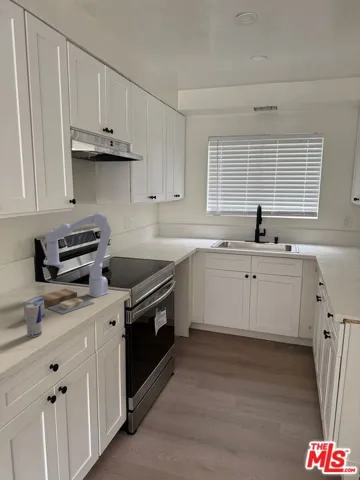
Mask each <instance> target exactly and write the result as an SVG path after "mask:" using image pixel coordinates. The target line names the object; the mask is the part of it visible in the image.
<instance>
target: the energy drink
mask: <svg viewBox="0 0 360 480" xmlns="http://www.w3.org/2000/svg"><path fill="white" fill-rule="evenodd" d="M25 322H26V335H27V336H28V337H29V338H37V337H39V336H41V335H42V334H43V325H42V317H41V306H40V304H38V303H32V304H28V305H27V306H26V321H25Z"/></svg>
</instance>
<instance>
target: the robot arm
mask: <svg viewBox="0 0 360 480" xmlns="http://www.w3.org/2000/svg"><path fill="white" fill-rule="evenodd" d="M86 225H95V226H96V227H98V229H99V230H100V232H101V235H100V238H99V241H98V246H97V250H96V253H95V257H94V260H93V264H92V265H91V266H90V268H89V277H88V281H89V283H88V284H89V285H88V286H89V292H87V293H85V294H86V295H87V296H90V297H93V298H98V297H101V296H103V295H104V296H105V295H107V294H109V293H110V292H109V285H108V279H107V278H106V277H105V276H103V273H102V271H103V264H104V260H105V256H106V252H107V248H108V245H109V241H110V237H111V233H112V229H111V225H110V223H109V221H108V218H107V216H106V215H105V214H104V213H103V212H100V211H98V212H96V213H93V214H89V215H87V216H84V217H83V218H79V219H78V220H76V221H74V222H73V223H70V224H69V223H62V224H61V226H58V227H56V228H55V227H54V228H53V229H52V230H49V231H47V233H46V234H45V241H46V259H44V260H43V265H45V266H46V269H47V271H48V273H49V276H50V278H51V280H52V281H56V280H57V279H58V275H59V271H60V269H64V263H62V262H61V261H60V255H59V254H60V253H59V240H61V239H63V238H65V237H67V236H70V235H71V234H72V233H73V231H74V230H76V229H78V228H81V227H83V226H86Z"/></svg>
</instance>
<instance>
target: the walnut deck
mask: <svg viewBox="0 0 360 480" xmlns="http://www.w3.org/2000/svg"><path fill="white" fill-rule="evenodd" d="M36 297H43V298H44V307H46V308H48V307H51V306H54V305H57V304H60V302H64V301H67V300H70V299H73V298H78V291H74V290H72V289H67V288H62V289H59V290H56V291H52V292H48V293H44V294H42V295H38V296H36Z"/></svg>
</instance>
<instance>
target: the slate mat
mask: <svg viewBox="0 0 360 480" xmlns="http://www.w3.org/2000/svg"><path fill="white" fill-rule="evenodd" d="M77 298H78V299H81V300H83V305H80V306H77V307H74V308H71V309H65V308H62V307H60V304H57V305H54V306H51V307H47V309H48V310H50V311H52V312H56V313H58V314H60V315H65V314H68V313H71V312H74V311H77V310H79V309H82V308H83V309H84V308H85V307H88V306H90V305H93V304H95V302H92V301H90V300H88V299H84V298H81V297H77Z"/></svg>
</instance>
